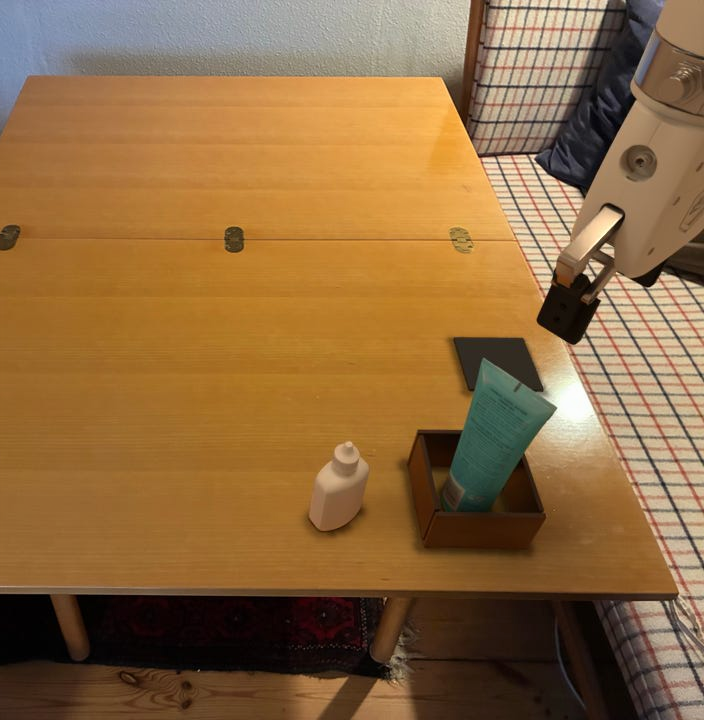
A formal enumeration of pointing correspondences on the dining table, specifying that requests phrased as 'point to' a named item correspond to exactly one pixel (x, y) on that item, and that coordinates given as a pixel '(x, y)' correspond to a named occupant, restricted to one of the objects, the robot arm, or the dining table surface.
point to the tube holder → (471, 525)
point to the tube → (493, 439)
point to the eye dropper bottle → (339, 488)
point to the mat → (497, 359)
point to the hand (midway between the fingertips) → (595, 304)
